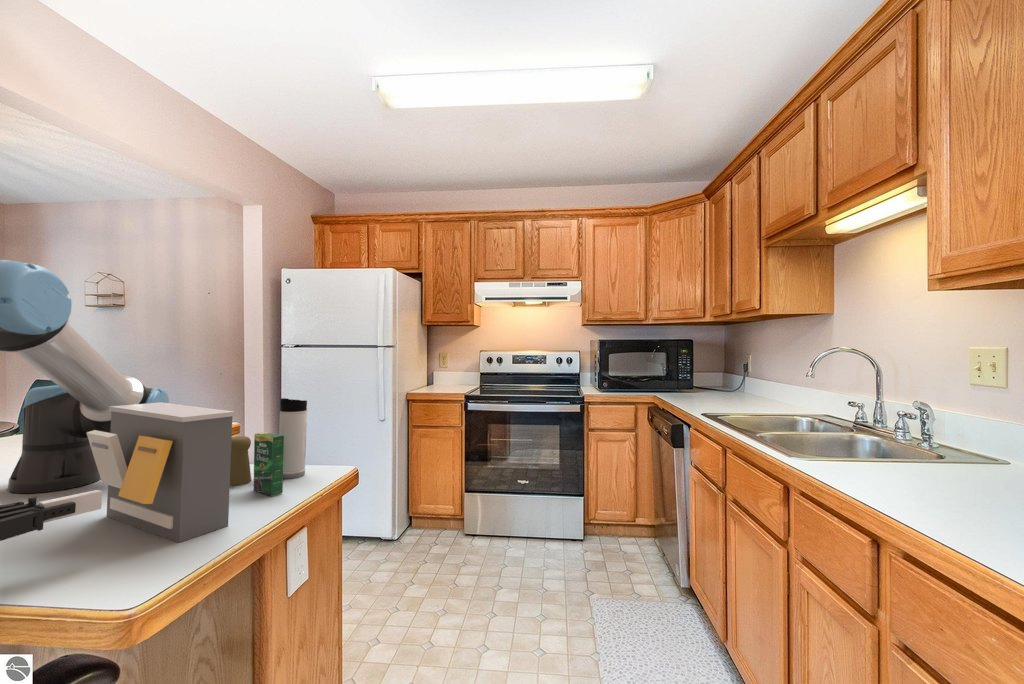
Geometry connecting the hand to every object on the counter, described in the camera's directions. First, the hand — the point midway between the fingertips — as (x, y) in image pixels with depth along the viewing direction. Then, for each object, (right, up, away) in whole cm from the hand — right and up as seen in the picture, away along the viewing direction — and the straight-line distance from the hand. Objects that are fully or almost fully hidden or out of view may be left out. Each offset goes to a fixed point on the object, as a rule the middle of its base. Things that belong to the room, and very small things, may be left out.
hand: (99, 499), depth 68 cm
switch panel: (0, -9, +14) cm, 16 cm away
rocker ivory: (-8, -2, +12) cm, 14 cm away
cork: (-2, -10, +38) cm, 39 cm away
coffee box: (+8, -10, +31) cm, 34 cm away
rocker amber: (+2, -2, +4) cm, 5 cm away
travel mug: (+7, -10, +44) cm, 46 cm away
